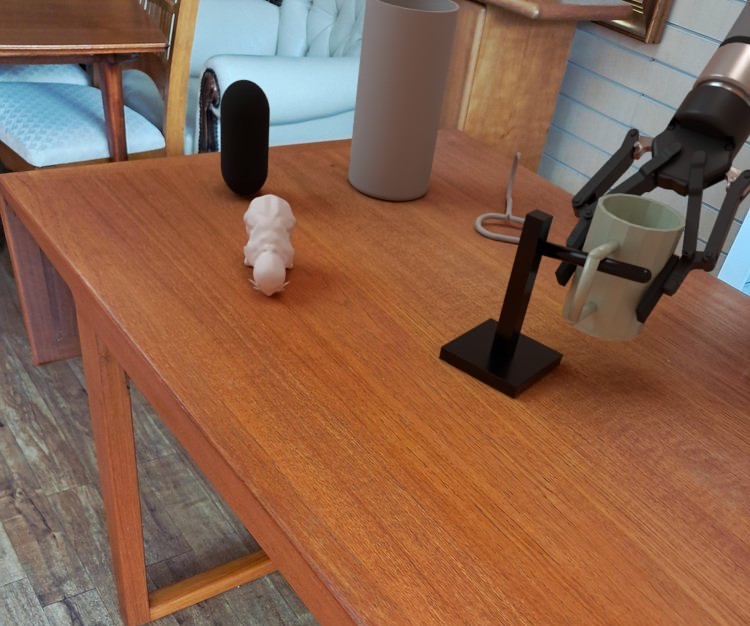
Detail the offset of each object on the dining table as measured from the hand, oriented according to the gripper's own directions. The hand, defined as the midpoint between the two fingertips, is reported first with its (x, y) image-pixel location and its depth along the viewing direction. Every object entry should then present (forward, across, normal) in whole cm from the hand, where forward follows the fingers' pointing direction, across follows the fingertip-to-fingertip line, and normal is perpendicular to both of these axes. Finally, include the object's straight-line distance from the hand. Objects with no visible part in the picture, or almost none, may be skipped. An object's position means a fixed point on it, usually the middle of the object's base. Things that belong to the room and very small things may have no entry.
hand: (598, 297), depth 81 cm
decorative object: (+4, +57, -11) cm, 58 cm away
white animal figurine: (+15, +37, 0) cm, 40 cm away
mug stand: (+9, +4, -5) cm, 11 cm away
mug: (+2, 0, -3) cm, 4 cm away
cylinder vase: (-10, +47, -25) cm, 55 cm away
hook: (-16, +30, -31) cm, 45 cm away
